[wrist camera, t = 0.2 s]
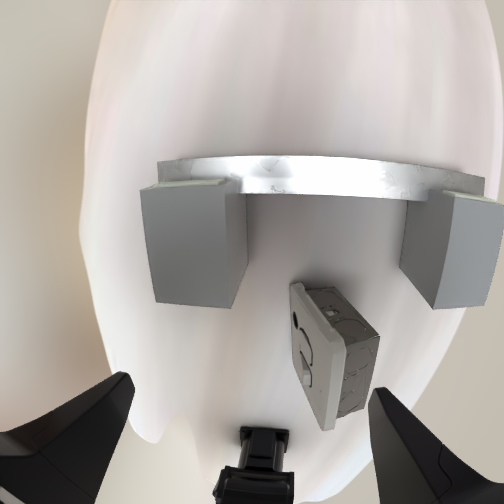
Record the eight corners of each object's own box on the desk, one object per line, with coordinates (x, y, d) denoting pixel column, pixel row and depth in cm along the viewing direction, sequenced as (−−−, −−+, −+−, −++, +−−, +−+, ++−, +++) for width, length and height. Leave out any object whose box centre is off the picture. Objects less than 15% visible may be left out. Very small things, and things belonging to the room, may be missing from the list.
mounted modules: (444, 267, 21) (484, 305, 14) (190, 262, 24) (156, 302, 17) (456, 187, 18) (507, 204, 11) (183, 176, 21) (139, 187, 15)
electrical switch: (288, 279, 23) (302, 351, 14) (348, 273, 23) (389, 338, 14) (292, 362, 26) (300, 437, 17) (342, 356, 26) (365, 427, 17)
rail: (459, 200, 18) (482, 208, 15) (178, 189, 21) (159, 196, 18) (461, 172, 17) (484, 177, 14) (176, 159, 21) (157, 161, 17)
